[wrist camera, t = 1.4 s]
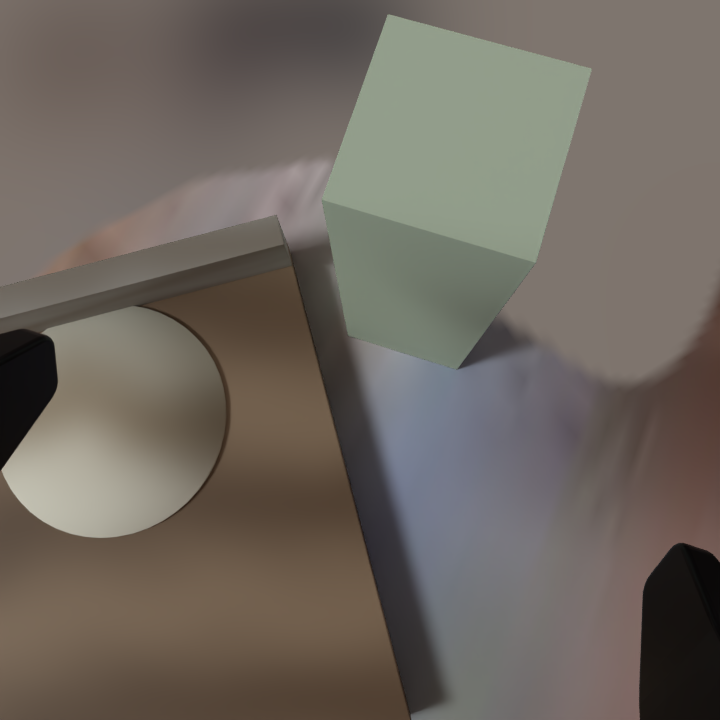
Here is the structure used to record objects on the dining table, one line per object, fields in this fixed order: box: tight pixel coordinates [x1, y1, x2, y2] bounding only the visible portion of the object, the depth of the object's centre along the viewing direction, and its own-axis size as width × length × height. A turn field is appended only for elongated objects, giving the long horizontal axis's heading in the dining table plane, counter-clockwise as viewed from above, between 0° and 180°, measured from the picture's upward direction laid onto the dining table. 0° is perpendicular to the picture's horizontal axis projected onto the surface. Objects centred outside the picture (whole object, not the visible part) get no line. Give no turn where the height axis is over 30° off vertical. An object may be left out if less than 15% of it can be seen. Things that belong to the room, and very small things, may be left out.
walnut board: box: [0, 215, 411, 720], centre depth 20 cm, size 16×14×3 cm
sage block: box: [322, 15, 592, 370], centre depth 17 cm, size 4×4×11 cm
